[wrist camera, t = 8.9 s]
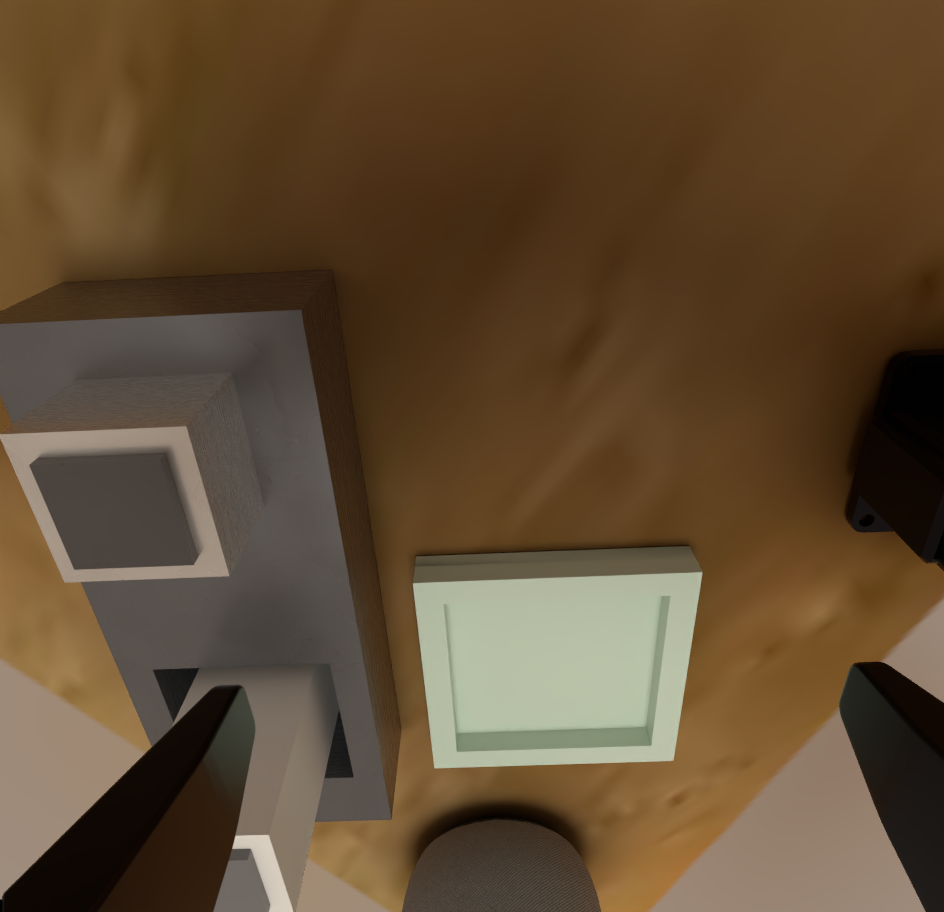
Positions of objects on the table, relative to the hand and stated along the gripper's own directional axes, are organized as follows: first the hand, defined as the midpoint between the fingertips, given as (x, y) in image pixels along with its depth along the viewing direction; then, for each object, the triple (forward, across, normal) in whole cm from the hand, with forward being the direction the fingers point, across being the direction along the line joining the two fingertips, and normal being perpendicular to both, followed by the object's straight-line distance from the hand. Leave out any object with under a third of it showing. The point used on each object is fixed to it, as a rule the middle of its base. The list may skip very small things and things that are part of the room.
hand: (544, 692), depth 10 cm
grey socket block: (+12, +9, +6) cm, 17 cm away
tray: (+12, -2, +12) cm, 17 cm away
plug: (+12, +9, +11) cm, 18 cm away
